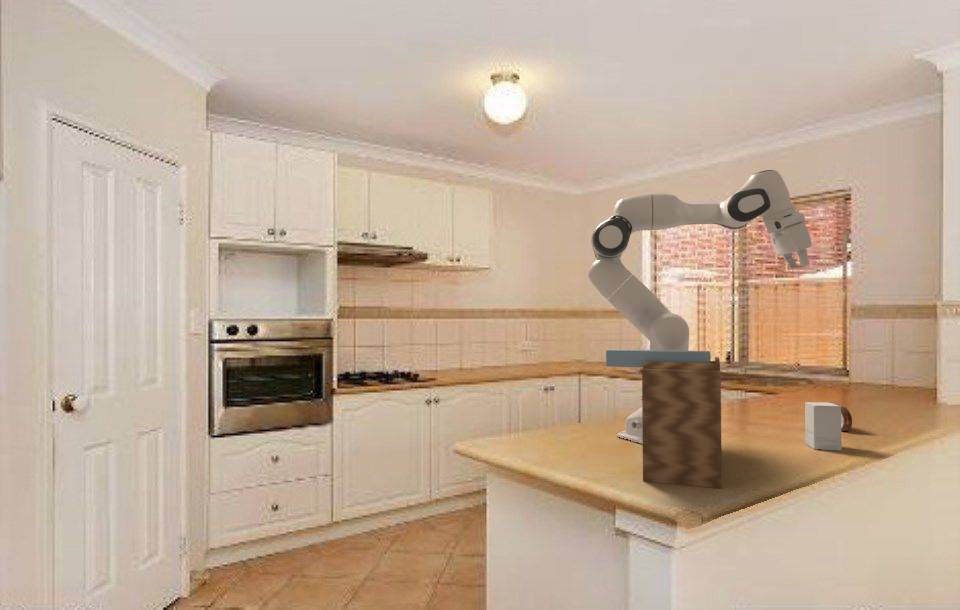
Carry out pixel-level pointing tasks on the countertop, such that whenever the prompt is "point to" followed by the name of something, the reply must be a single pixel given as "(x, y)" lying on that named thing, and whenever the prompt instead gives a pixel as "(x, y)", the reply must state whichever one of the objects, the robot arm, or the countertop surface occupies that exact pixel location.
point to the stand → (682, 423)
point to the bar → (653, 357)
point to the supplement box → (823, 425)
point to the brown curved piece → (845, 418)
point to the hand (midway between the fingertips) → (799, 266)
